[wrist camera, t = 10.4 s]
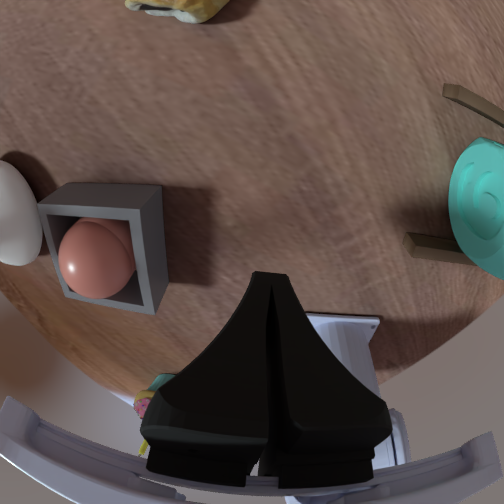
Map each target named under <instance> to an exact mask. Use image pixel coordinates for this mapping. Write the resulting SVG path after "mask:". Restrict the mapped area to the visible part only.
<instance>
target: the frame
mask: <svg viewBox="0 0 504 504" xmlns="http://www.w3.org/2000/svg"><path fill="white" fill-rule="evenodd" d="M442 96H444V97H446V98H448V99H450V100H452V101H455V102H457V103H459V104H461V105H463V106H465V107H467V108H469V109H471V110H473V111H475V112H477V113H478V114H480V115H482V116H484V117H486V118H488V119H489V120H491V121H493V122H495V123H496V124H498V125H500V126H501V127H503V128H504V111H503V110H502V109H500V108H499V107H497V106H496V105H494V104H492V103H491V102H489V101H487V100H486V99H484V98H482V97H480V96H479V95H477V94H475V93H473V92H471V91H470V90H468V89H466V88H464V87H462V86H460V85H454V84H446V83H444V87H443V94H442ZM403 245H404V246H405V248H406V249H407V251H408V252H409V254H410V255H411V257H414V258H421V259H429V260H437V261H444V262H452V263H459V264H466V265H474V266H478V265H477V264H475V263H474V262H473V261H472V260H471V259H470V258H468V257H467V256H466V254H465V253H464V252H463V251H462V250H461V248H460V247H459V245H458V243H457V241H453V240H447V239H442V238H436V237H431V236H425V235H420V234H414V233H408V232H406V235H405V237H404V240H403Z"/></svg>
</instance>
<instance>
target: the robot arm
mask: <svg viewBox="0 0 504 504" xmlns="http://www.w3.org/2000/svg"><path fill="white" fill-rule="evenodd" d="M379 323H380V320H379V318H378V317H362V316H342V315H326V314H312V313H305V311H304V310H303V308H302V306H301V304H300V302H299V300H298V298H297V296H296V294H295V292H294V290H293V287H292V285H291V283H290V280H289V277H288V276H287V275H286V274H279V273H269V272H259V271H255V272H253V273H252V277H251V280H250V283H249V286H248V288H247V290H246V292H245V294H244V296H243V298H242V300H241V302H240V303H239V305H238V307H237V309H236V310H235V312H234V313H233V315H232V316H231V318H230V319H229V321H228V322H227V323H226V325H225V326H224V327H223V329H222V330H221V331H220V333H219V334H218V335H217V336H216V337H215V339H214V340H213V341H212V342H211V343H210V344H209V345H208V346H207V347H206V348H205V350H204V351H203V352H202V353H201V354H200V355H199V356H198V357H196V358H195V359H194V360H193V361H192V362H191V363H190V364H189V365H187V366H186V367H185V368H184V369H183V370H182V371H181V372H179V373H178V374H177V375H175V376H174V377H173V378H171V379H170V380H169V381H167V382H166V383H165V384H163V385H162V386H161V387H159V388H158V389H157V390H156V392H155V394H154V395H153V397H152V399H151V400H150V402H149V404H148V406H147V409H146V411H145V413H144V416H143V420H142V424H141V427H140V432H141V435H142V436H143V437H144V439H145V440H146V441H147V443H148V444H149V445H150V451H149V455H148V459H145V458H142V457H138V456H134V455H131V454H128V453H124V452H121V451H118V450H115V449H112V448H109V447H106V446H103V445H101V444H98V443H95V442H92V441H90V440H87V439H85V438H82V437H80V436H78V435H75V434H73V433H71V432H68V431H66V430H64V429H62V428H60V427H57V426H55V425H53V424H51V423H49V422H47V421H45V420H43V419H41V418H40V417H39V415H38V414H37V413H35V412H34V411H33V410H32V409H30V408H29V407H27V406H26V405H24V404H23V403H21V402H19V401H17V400H16V399H14V398H12V397H11V396H7V398H6V400H5V402H4V404H3V406H2V408H1V411H0V455H1V456H2V457H3V458H5V459H6V460H7V461H9V462H10V463H11V464H13V465H14V466H16V467H17V468H18V469H20V470H21V471H23V472H24V473H26V474H27V475H29V476H30V477H32V478H33V479H35V480H36V481H38V482H39V483H41V484H43V485H44V486H46V487H47V488H49V489H51V490H52V491H54V492H56V493H58V494H59V495H61V496H63V497H65V498H67V499H69V500H70V501H73V502H75V503H76V504H203V503H197V502H190V501H185V499H186V497H185V496H184V495H183V494H180V493H177V491H176V489H175V488H171V487H168V486H165V485H161V484H158V483H154V482H151V481H149V480H145V479H142V478H140V477H143V478H146V479H150V480H154V481H158V482H162V483H166V484H171V485H175V486H181V487H186V488H191V489H197V490H204V491H210V492H218V493H227V494H237V495H251V496H284V497H285V500H286V504H458V503H460V502H461V501H463V500H465V499H467V498H469V497H471V496H472V495H474V494H476V493H478V492H479V491H481V490H483V489H485V488H486V487H488V486H490V485H491V484H493V483H495V482H496V481H498V480H500V479H501V478H502V477H503V474H502V469H501V464H500V460H499V455H498V451H497V448H496V444H495V440H494V437H493V433H492V431H490V432H488V433H485V434H482V435H480V436H478V437H475V438H473V439H472V440H470V441H468V442H467V443H465V444H464V445H462V446H461V447H459V448H457V449H454V450H451V451H448V452H445V453H442V454H438V455H435V456H432V457H428V458H425V459H421V460H418V461H414V462H411V454H410V447H409V440H408V436H407V431H406V426H405V422H404V419H403V416H402V414H401V413H400V412H398V411H396V410H395V409H394V408H392V409H389V410H388V408H387V405H386V402H385V401H383V400H382V399H381V396H380V391H379V386H378V382H377V378H376V374H375V369H374V365H373V361H372V357H371V354H370V350H369V346H368V343H369V341H370V340H371V338H372V336H373V334H374V333H375V331H376V329H377V327H378V325H379ZM259 458H260V459H259ZM258 460H259V468H258V476H250V473H251V471H252V469H253V467H254V465H255V464H257V462H258Z"/></svg>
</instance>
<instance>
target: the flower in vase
mask: <svg viewBox="0 0 504 504" xmlns="http://www.w3.org/2000/svg"><path fill="white" fill-rule="evenodd" d="M42 236H43V229H42V223H41V219H40V215H39V210H38V206H37V202H36V199H35V196H34V194H33V192H32V190H31V188H30V186H29V185H28V183H27V181H26V180H25V178H24V177H23V176H22V175H21V173H20V172H19V171H18V170H17V169H16V168H15V167H13V166H12V165H11V164H9V163H7V162H4V161H2V160H0V261H1V262H4V263H6V264H11V265H16V266H21V265H25V264H28V263H30V262H32V261H34V260H35V259H36V257H37V256H38V254H39V252H40V249H41V243H42Z"/></svg>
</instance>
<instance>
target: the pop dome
mask: <svg viewBox="0 0 504 504" xmlns="http://www.w3.org/2000/svg"><path fill="white" fill-rule="evenodd" d="M58 261H59V267H60V271H61V274H62V276H63V278H64V280H65V282H66V283H67V284H68V286H69V287H70V288H71V289H72V290H74V291H75V292H76V293H78V294H79V295H81V296H84V297H87V298H91V299H103V298H107V297H110V296H112V295H114V294H116V293H117V292H119V291H120V290H121V289H122V288H123V287H124V286H125V285H126V284H127V282H128V281H129V279H130V277H131V276H132V274H133V272H134V271H135V269H136V263H135V257H134V250H133V244H132V237H131V230H130V223H129V220H117V219H105V218H92V217H81V218H80V219H79V220H78V221H77V222H76V223H75V224H74V225H73V226H71V227H70V229H69V230H68V231H67V232H66V234H65V235H64V237H63V239H62V241H61V244H60V248H59V254H58Z"/></svg>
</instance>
